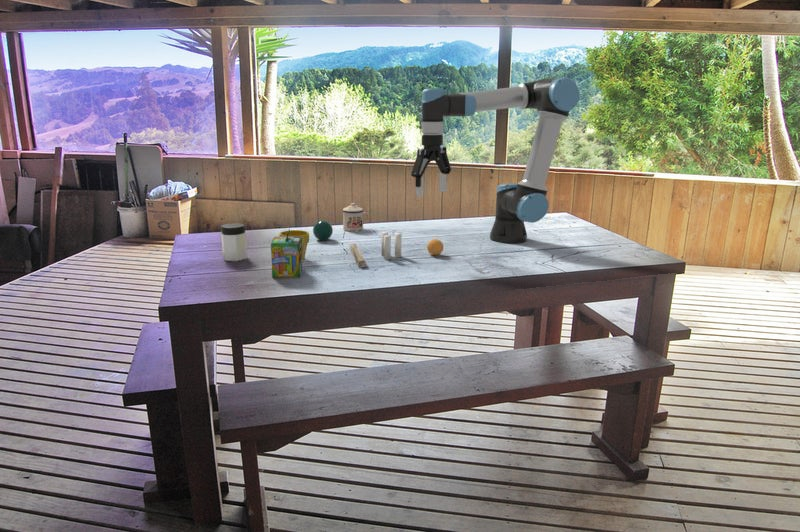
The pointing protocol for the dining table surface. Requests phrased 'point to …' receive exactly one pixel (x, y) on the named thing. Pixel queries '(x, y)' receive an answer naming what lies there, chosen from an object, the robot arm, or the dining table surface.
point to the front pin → (398, 244)
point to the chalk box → (286, 256)
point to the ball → (435, 247)
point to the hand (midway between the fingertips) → (431, 193)
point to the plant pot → (298, 234)
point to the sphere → (322, 230)
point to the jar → (233, 242)
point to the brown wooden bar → (357, 255)
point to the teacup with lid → (353, 218)
